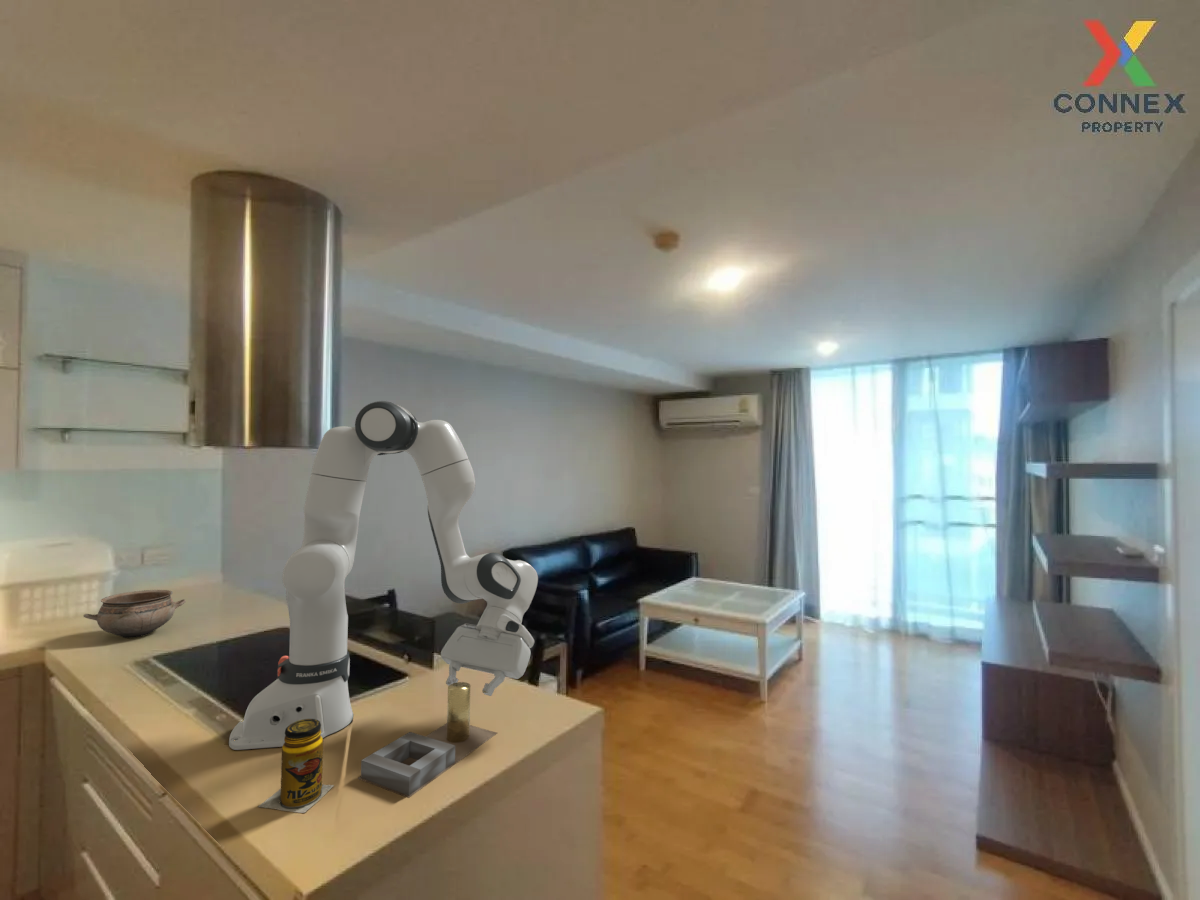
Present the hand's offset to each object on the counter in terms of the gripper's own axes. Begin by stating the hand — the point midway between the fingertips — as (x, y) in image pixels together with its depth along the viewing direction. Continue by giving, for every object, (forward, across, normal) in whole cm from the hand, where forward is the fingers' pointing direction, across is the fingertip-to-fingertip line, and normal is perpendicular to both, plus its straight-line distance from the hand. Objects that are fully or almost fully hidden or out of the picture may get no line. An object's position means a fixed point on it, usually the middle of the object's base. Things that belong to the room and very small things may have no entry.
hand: (467, 689), depth 110 cm
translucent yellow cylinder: (+8, 0, +4) cm, 9 cm away
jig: (+14, 0, 0) cm, 14 cm away
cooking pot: (+4, -136, +9) cm, 136 cm away
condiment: (+27, -12, -13) cm, 32 cm away
